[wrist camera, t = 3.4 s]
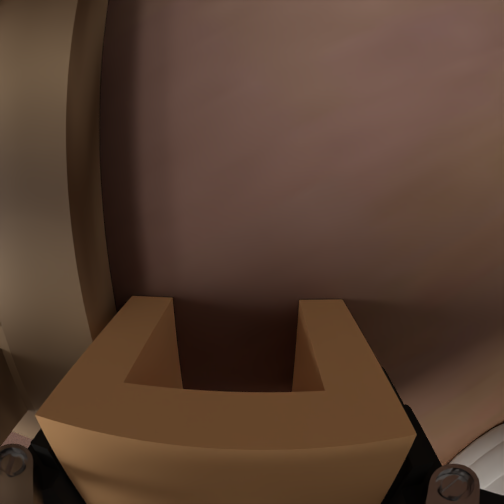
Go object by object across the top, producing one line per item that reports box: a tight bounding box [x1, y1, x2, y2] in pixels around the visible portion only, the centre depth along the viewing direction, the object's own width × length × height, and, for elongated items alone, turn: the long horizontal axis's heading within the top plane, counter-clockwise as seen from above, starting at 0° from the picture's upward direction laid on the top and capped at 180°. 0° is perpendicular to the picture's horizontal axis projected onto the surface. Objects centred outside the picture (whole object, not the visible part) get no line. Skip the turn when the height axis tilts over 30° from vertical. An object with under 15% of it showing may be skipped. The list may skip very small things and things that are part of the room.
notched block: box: [35, 296, 417, 504], centre depth 8 cm, size 5×7×6 cm
